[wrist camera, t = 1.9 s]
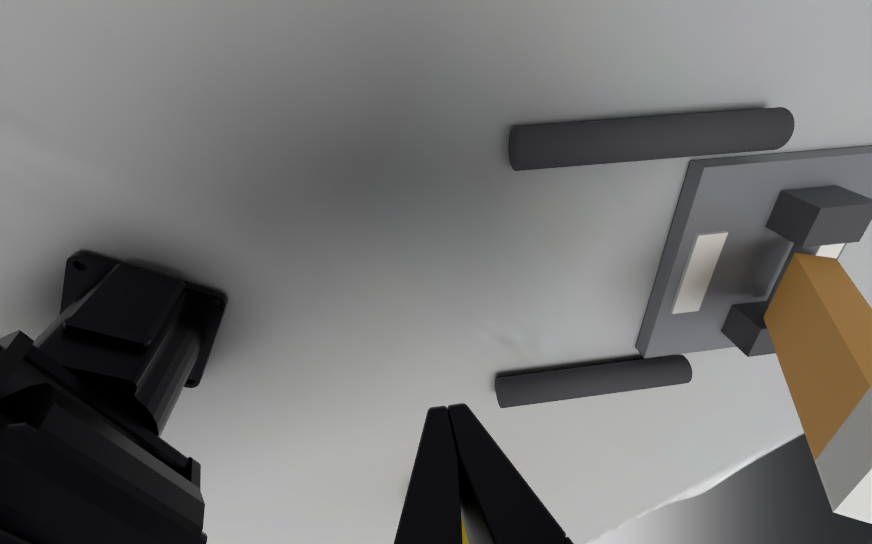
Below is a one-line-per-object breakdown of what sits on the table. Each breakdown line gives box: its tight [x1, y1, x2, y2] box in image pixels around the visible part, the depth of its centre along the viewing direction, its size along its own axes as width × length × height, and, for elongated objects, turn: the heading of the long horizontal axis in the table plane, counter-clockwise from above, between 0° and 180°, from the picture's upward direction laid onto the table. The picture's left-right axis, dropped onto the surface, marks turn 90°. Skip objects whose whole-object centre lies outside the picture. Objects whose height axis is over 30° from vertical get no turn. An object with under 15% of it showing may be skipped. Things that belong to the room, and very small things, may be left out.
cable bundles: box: [495, 107, 794, 408], centre depth 23 cm, size 12×17×2 cm
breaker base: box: [636, 146, 872, 358], centre depth 23 cm, size 10×12×3 cm
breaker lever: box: [763, 244, 872, 524], centre depth 18 cm, size 2×4×13 cm
